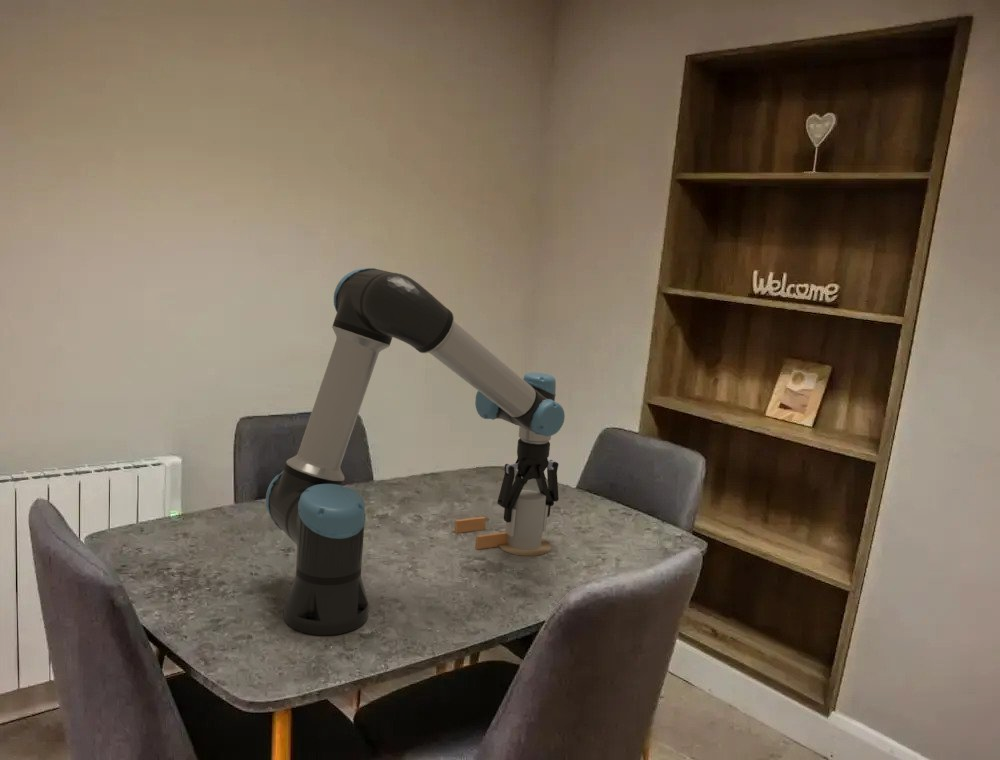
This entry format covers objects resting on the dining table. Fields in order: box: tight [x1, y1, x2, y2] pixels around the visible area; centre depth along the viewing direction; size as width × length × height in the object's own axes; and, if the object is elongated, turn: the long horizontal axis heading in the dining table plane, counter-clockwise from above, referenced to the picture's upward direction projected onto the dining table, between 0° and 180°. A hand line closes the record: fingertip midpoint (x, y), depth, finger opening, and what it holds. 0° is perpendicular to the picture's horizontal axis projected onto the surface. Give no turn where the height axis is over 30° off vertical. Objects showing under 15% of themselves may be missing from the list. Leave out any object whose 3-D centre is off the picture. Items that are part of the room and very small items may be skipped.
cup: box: [507, 489, 546, 550], centre depth 185 cm, size 8×8×12 cm
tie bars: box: [454, 516, 508, 550], centre depth 187 cm, size 12×8×3 cm
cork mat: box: [498, 537, 552, 557], centre depth 186 cm, size 13×13×1 cm
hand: (525, 531), depth 185 cm, fingers open, 8 cm apart
